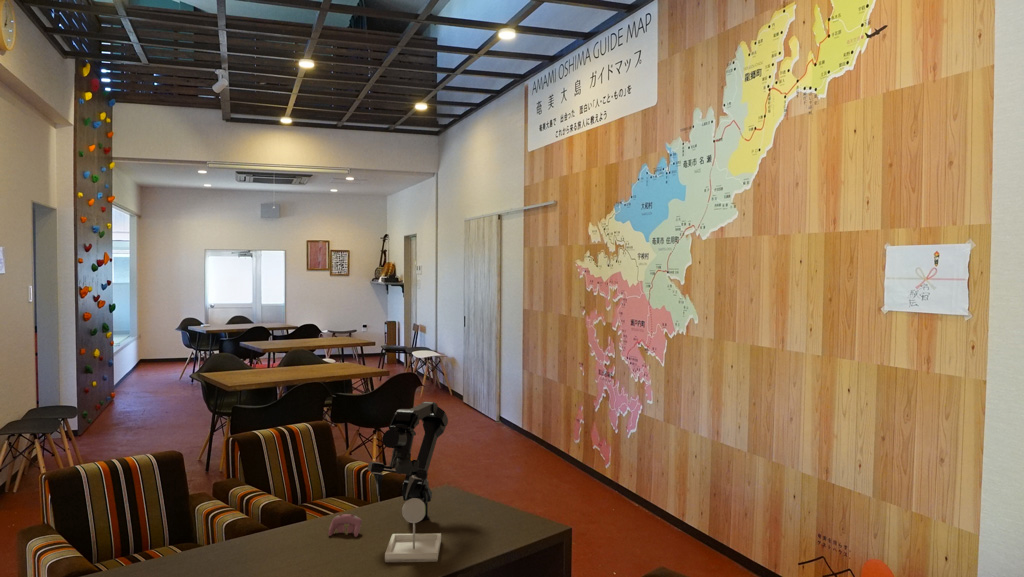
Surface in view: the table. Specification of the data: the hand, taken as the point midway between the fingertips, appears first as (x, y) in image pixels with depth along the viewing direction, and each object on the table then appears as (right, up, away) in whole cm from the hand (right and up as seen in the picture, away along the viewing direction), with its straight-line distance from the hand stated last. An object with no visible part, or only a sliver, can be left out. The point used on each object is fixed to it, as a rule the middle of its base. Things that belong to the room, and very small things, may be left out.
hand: (392, 497), depth 214 cm
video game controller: (-15, -12, 0) cm, 19 cm away
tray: (+9, -12, -14) cm, 20 cm away
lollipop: (+9, -11, -14) cm, 20 cm away
